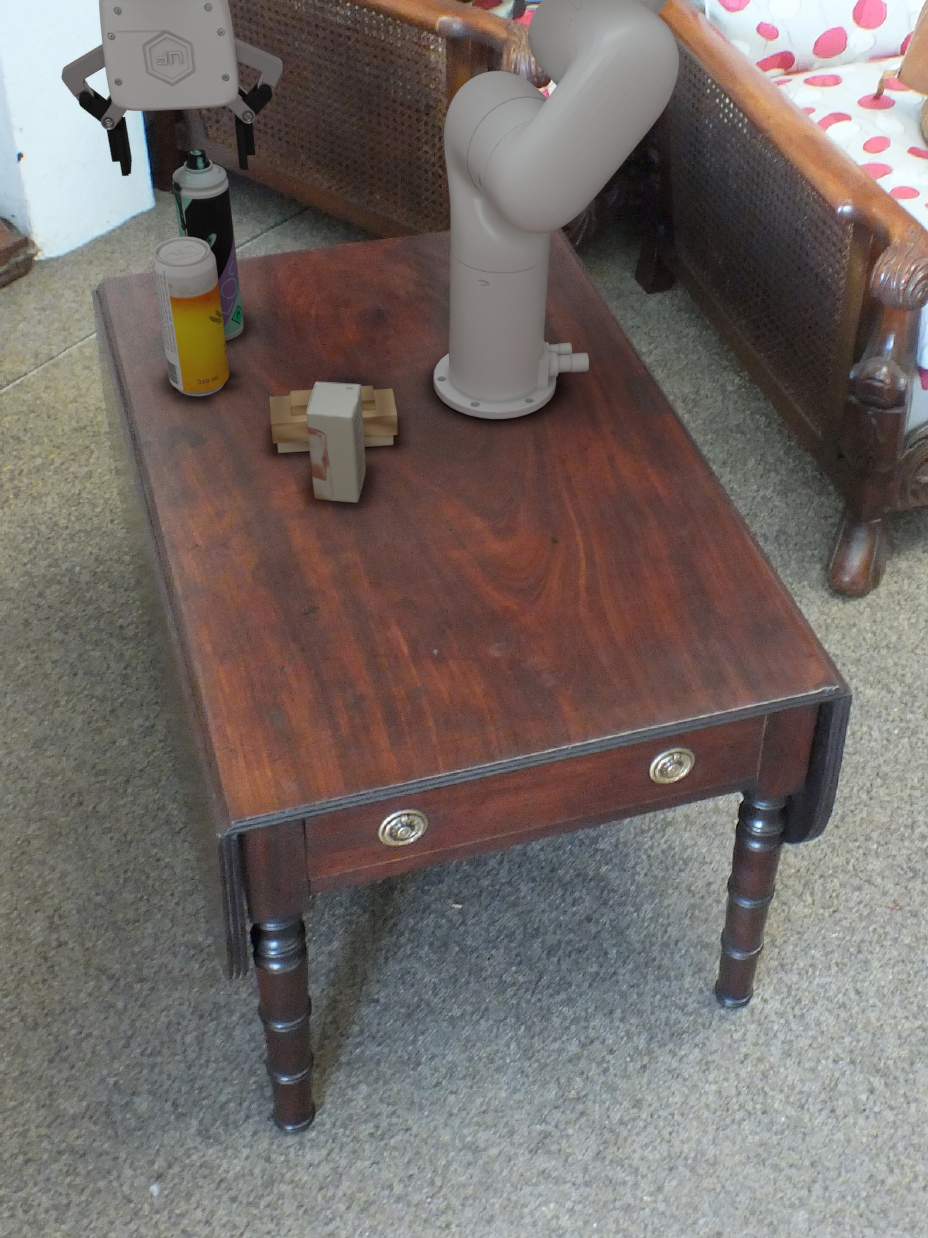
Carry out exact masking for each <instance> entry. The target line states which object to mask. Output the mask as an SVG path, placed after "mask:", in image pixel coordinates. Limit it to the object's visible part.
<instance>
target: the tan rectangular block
mask: <svg viewBox="0 0 928 1238" xmlns="http://www.w3.org/2000/svg"><path fill="white" fill-rule="evenodd" d="M312 390H313V389H298V390H290V391H289V394H288V395H276V396H273V395H272V396H269V397H268V399H269V401H268V402H269V413H270V427H271V437H272V444H276V445H277V453H278V454H284V453H285V454H286V453H298V452H310V447H309V436H308V425H307V415H306V412H307V407H308V403H309V400H310V396H311V393H312ZM361 395H362V413H363V432H364V448H368V447H382V446H383V447H384V446H393V445H394V436H397V435H398V433H399V432H398V411H397V407H396V401H395V395H394V389H393V388H381V389H380V388H379V389H378V388H377V389H374V386H373V385H361Z"/></svg>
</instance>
